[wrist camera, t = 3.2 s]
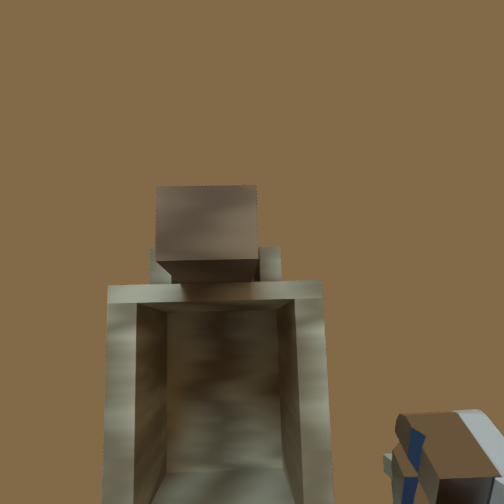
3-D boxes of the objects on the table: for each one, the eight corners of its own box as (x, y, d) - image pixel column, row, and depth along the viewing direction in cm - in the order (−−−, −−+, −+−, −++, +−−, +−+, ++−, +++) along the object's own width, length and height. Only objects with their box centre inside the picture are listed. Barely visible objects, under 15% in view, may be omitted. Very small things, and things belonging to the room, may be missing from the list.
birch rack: (308, 647, 34) (292, 274, 39) (353, 835, 21) (319, 245, 26) (146, 656, 33) (151, 278, 38) (91, 855, 21) (109, 250, 26)
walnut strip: (247, 296, 35) (246, 258, 36) (258, 258, 18) (256, 185, 18) (195, 298, 35) (195, 259, 36) (155, 260, 18) (156, 186, 18)
